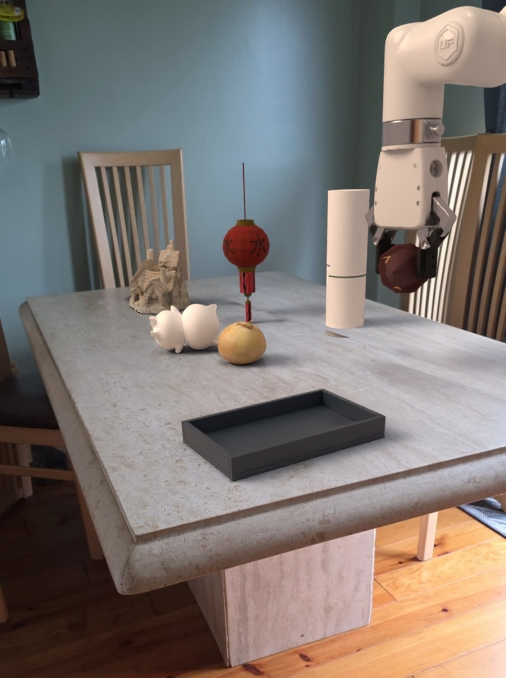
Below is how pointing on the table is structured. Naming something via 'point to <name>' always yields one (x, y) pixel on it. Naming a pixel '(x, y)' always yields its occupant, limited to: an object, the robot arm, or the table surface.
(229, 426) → the dish tray
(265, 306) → the table surface
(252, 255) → the lantern
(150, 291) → the ceramic cottage
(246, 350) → the onion
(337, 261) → the cylindrical container
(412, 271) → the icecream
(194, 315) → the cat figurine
